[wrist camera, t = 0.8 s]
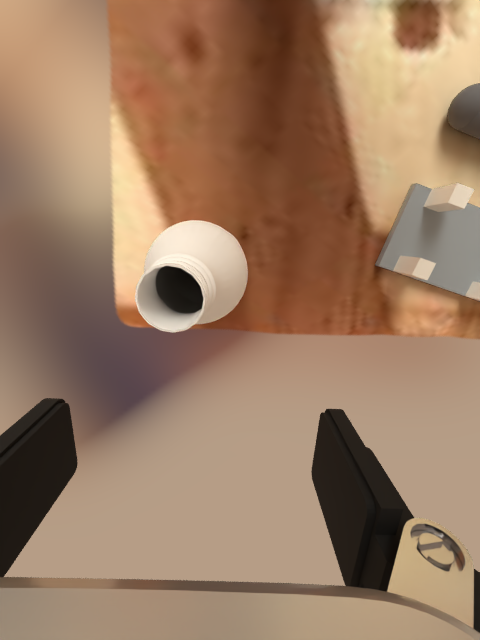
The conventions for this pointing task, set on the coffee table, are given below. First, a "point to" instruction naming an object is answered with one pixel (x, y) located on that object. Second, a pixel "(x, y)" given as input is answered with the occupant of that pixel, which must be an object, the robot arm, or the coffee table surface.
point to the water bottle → (191, 276)
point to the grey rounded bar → (466, 111)
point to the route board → (437, 239)
